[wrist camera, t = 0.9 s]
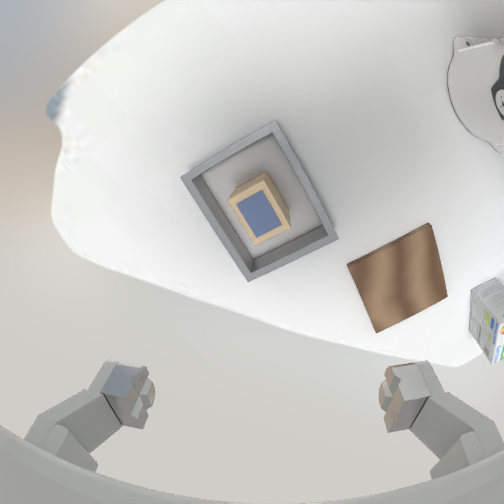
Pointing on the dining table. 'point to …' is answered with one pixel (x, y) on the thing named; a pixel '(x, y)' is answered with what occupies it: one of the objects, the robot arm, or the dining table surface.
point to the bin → (227, 232)
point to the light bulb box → (488, 319)
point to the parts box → (260, 208)
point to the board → (400, 278)
